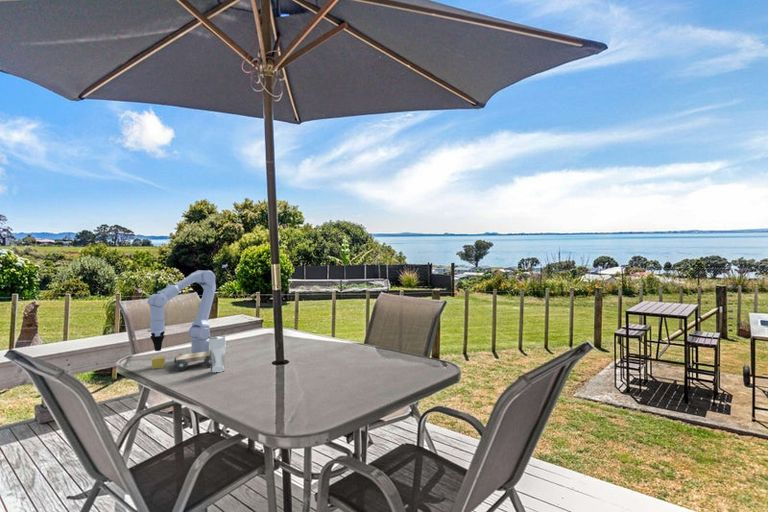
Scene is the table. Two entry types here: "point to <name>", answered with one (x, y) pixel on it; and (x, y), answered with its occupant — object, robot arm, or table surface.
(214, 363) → the beer glass
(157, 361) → the block
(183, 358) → the dolly
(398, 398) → the table surface
